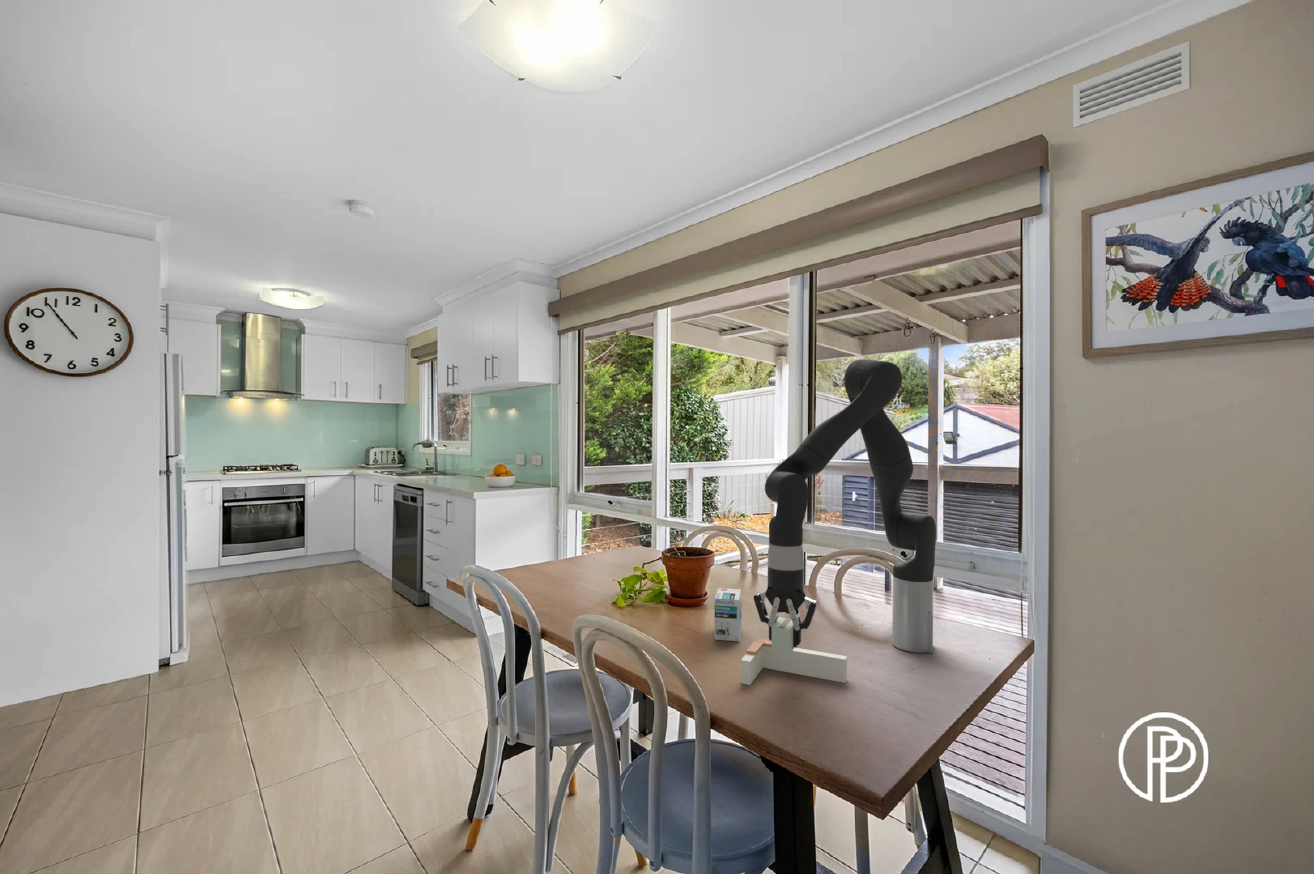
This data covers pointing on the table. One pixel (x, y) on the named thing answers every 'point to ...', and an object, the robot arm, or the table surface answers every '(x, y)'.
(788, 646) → the block
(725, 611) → the light bulb box
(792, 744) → the table surface
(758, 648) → the corner wall
